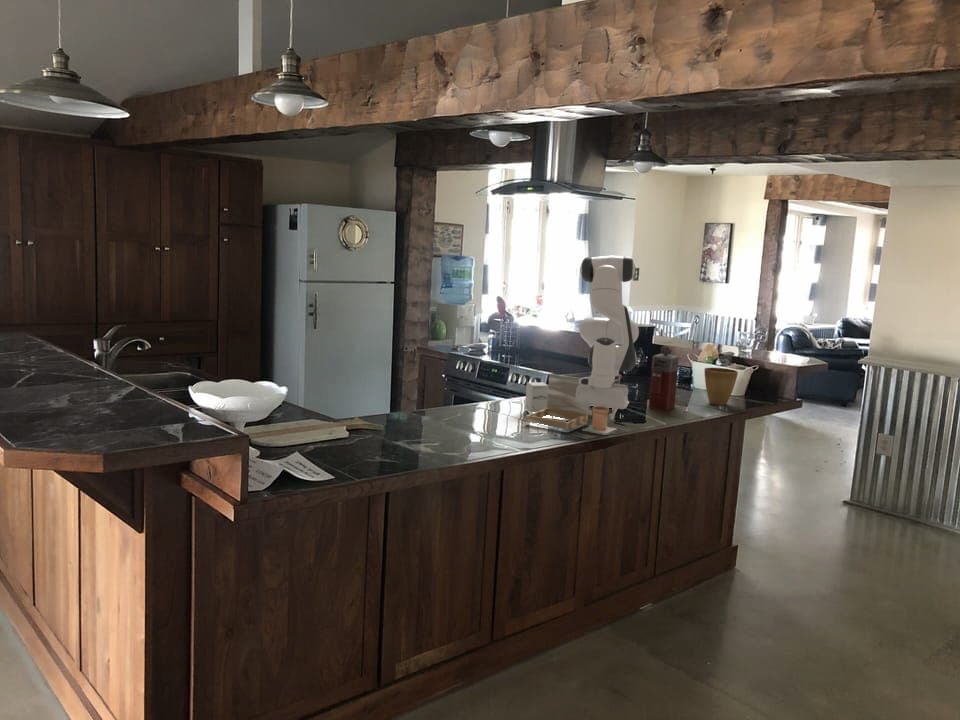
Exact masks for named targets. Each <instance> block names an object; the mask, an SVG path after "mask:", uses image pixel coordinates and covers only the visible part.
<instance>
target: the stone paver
mask: <svg viewBox="0 0 960 720" xmlns="http://www.w3.org/2000/svg"><path fill="white" fill-rule="evenodd" d="M590 425H591V426H592V424H590ZM613 430H616V431H617V428H615V427H609V426H607V430H597V432H601V433H609V432H611V431H613Z"/></svg>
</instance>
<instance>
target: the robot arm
mask: <svg viewBox="0 0 960 720" xmlns="http://www.w3.org/2000/svg"><path fill="white" fill-rule="evenodd" d="M579 271H580V275H581V278H582V280H584V282H587V283H591V288H590V289H591V291H590V300H591V306H592V308H593V309H594V310H595V312H596V313H598V314H600V315H601V316H603V317H598V316H593V317H586V318H584V319H583V320H582V321H581V323H580V324H579V328H578V329H579V335H580V337H581V338H582V339H583V340H584V341H585V342H586V343H587V344H588V346H589V347H590V348H588V360H587V365H589V366H590V367H591V369H592V370H591V373H590V374H591V375H587V376H584V377H580V378H581V379H579V384H580V385H578V387H577V390H576V396H575V399H576V401H577V402H579V403H585V405H584V406H585V408H586V410H587V415H588V417H590V416H593V411H592V410H591V409H590V408H591V406H594V407H596V406H600V407H606V408H612V409H611V411H612V412H611V413H608V419H609V420H614V418H615V414H616V413H617V411H618V410H624V409H627V407H628V405H629V404H630V401H629V399H628V395H629V387H627V386H626V384H624V383H623V384H622V383H621V381H620V380H621V379H622V374H619V373H620V372H624V373H628V372H630V371H632V370H633V369H634V368H635V367H636V364H637V360H638V359H637V353H636V352H637V351H636V350H635V344H634V343H635V342H636V341H637V340H638V338H639V334H640V332H639V331H640V330H639V326H638V325H637V323H636V322H635V321H633V319H631V318H630V314H629V311H628V308H627V306H626V305H624V304H623V285H622V284H623V283H627V282H630V281H631V280H632V279H634V275H635V272H636V264H635V262H634V259H633V258H632V257H630V256H628V255H627V256H626V255H623V256H622V255H600V256H599V255H598V256H587V257H586V256H585V257H584V258H583V259H582V262H581V264H580V268H579ZM620 383H621V384H620Z"/></svg>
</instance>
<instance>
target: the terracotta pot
mask: <svg viewBox="0 0 960 720" xmlns="http://www.w3.org/2000/svg"><path fill="white" fill-rule="evenodd" d="M591 411H592V419H591V420H592V421H591V425H592V429H594V430H607V427H608V419H609V413H610V409H609V408H606V407H600V406H596V407H592V410H591Z"/></svg>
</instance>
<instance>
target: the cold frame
mask: <svg viewBox="0 0 960 720" xmlns="http://www.w3.org/2000/svg"><path fill="white" fill-rule="evenodd" d="M581 378H582V377H575V376H567V375H560V374H554V373H549V374H548V384H547V385H548V403H547V408H546V409H543V410H540V411H537V412H535V413H532V414H526V416H525V422H526V421H527V422H532V423H539V424H544V425H548V426H553V427H558V428H563V429H571V428H574V427H576V426H579V425H582V424H585V423H587V424H588V421H589V420H588V419H589V415H587V410H586V408H585V406H584V405H585V403H579V402H577V401H576V399H575V396H576V390H577V387H578V385H580V384H579V379H581ZM546 415H550V416H555V417H560V418H565V419H569V420H571V421H568V422H566V421H560V420H554V419H548V418H542V417H543V416H546Z"/></svg>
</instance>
